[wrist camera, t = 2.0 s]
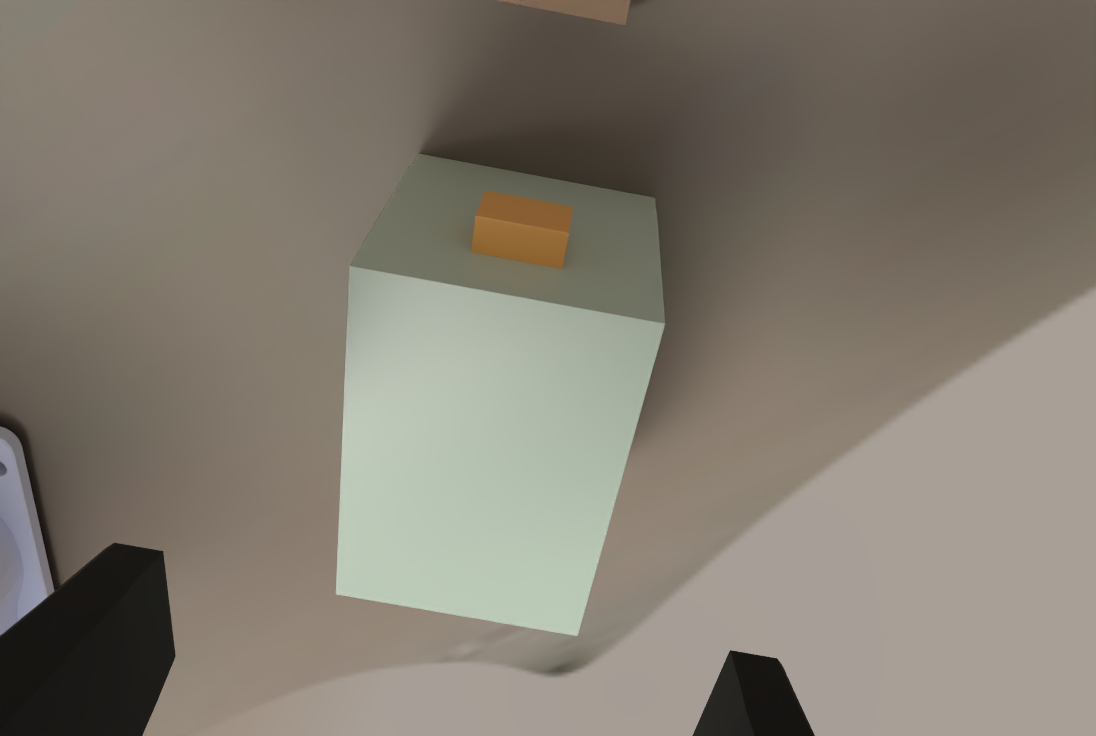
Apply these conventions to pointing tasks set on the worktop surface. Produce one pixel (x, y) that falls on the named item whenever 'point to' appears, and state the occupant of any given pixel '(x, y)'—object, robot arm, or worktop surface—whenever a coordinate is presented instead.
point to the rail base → (583, 8)
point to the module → (493, 390)
